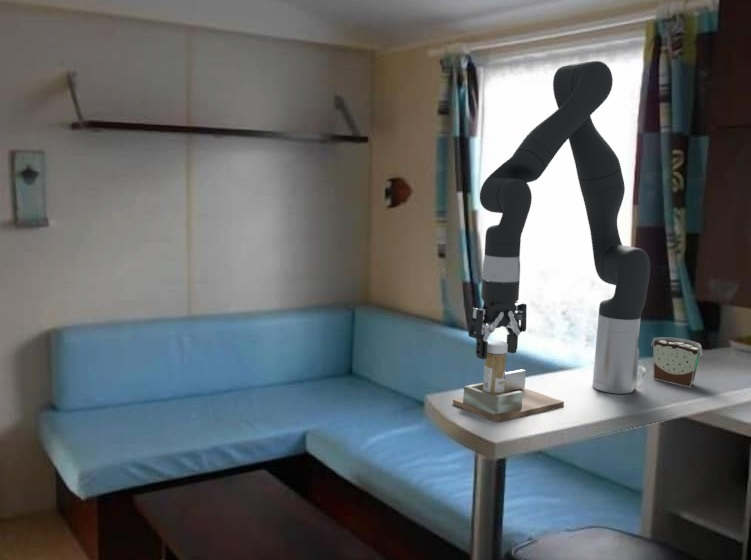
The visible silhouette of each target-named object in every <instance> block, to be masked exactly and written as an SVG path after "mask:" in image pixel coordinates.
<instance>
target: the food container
mask: <svg viewBox="0 0 751 560" xmlns="http://www.w3.org/2000/svg"><path fill="white" fill-rule="evenodd" d="M650 347H652V348H653V349H652V354H653V355H652V357H653V358H652V361H653V362H652V363H653V365H652V368H653V369H652V372H653V373H652V374H653V377H652V379H653V380H656V381H661V382H665V383H668V384H669V383H670V384H674V385H677V386H681V387H684V388H689V389H691V388H693V385H694V381H695V376H696V373H697V368H698V364H699V358H700V357H702V356H703V347H702V345H701V343H699V342H696V341H692V340H689V339H685V338H678V337H668V336H667V337H666V336H665V337H664V336H663V337H660V336H659V337H653V340H652V341H651V344H650Z"/></svg>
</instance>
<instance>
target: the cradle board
mask: <svg viewBox="0 0 751 560" xmlns="http://www.w3.org/2000/svg"><path fill="white" fill-rule="evenodd" d="M452 405H455V406H456V407H460V408H461V407H462V409H464V408H465V409H464V410H466V409H467V411H469V412H471V411H472V412H471V413H474V414H477V415H479V416H481V417H484V418H487V419H488V420H489V419H490V420H491V421H493V422H496V423H498V422H499V423H500V422H504V421H508V420H513V419H515V418H516V419H517V418H520V417H524V416H529V415H532V414H537V413H541V412H546V411H549V410H554V409H558V408H563V407H564V406H565V401H563V400H560V399H557V398H554V397H553V396H552V397H551V396H548V395H545V394H542V393H540V392H537V391H534V390H530V389H529V388H526V387H525V388H522V389H517V390H512V391H507V392H504V394H501V395H496V396H494V395H492V394H489V393H486V392H484V391H483V382H480V383H479V382H478V383H475V384H474V383H473V384H469V385H465V386H463V397H460V398H453V399H452Z"/></svg>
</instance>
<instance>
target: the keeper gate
mask: <svg viewBox="0 0 751 560" xmlns="http://www.w3.org/2000/svg"><path fill="white" fill-rule="evenodd" d="M526 372H527V370H525V369H516V370H511V371H505V385H504V392H507V391H512V390H517V389H522V388H526V387H525V386H526V375H527V373H526Z"/></svg>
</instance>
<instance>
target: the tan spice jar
mask: <svg viewBox="0 0 751 560" xmlns="http://www.w3.org/2000/svg"><path fill="white" fill-rule="evenodd" d="M487 341H488V347H487V358H486V359H484V365H483V381H482V383H483V391H484V392H486V393H489V394H492V395H494V396H496V395H501V394H504V385H505V372H506V363H507V354H508V352H507V349H508V344H507V341H503V340H497V339H494V340H492V339H491V340H487Z"/></svg>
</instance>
